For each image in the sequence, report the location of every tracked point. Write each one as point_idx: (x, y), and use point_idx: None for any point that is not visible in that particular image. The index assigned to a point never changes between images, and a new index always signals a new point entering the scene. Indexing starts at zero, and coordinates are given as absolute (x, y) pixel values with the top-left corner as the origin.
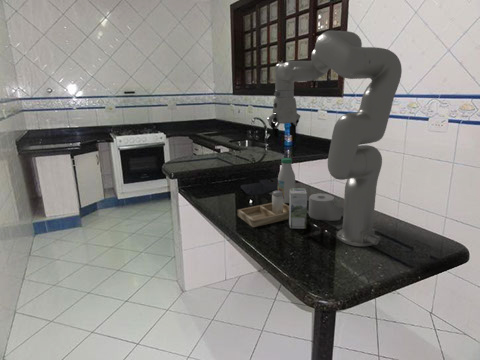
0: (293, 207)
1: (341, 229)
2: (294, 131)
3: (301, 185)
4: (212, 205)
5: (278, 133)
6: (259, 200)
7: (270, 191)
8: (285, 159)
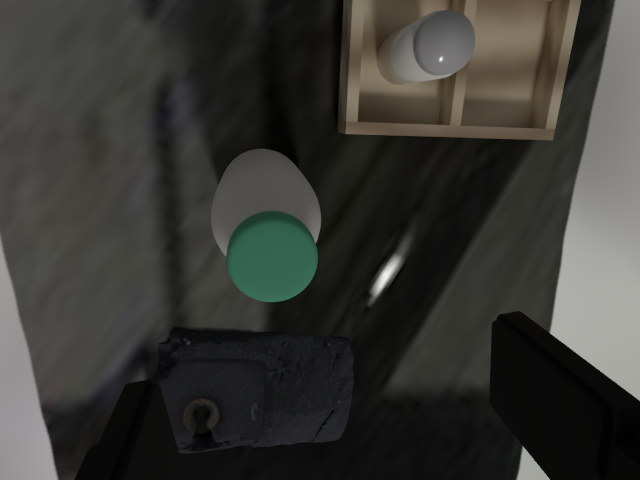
0: None
1: None
2: (139, 432)
3: (48, 360)
4: (524, 303)
5: (538, 355)
6: (350, 268)
7: (251, 337)
8: (298, 245)
